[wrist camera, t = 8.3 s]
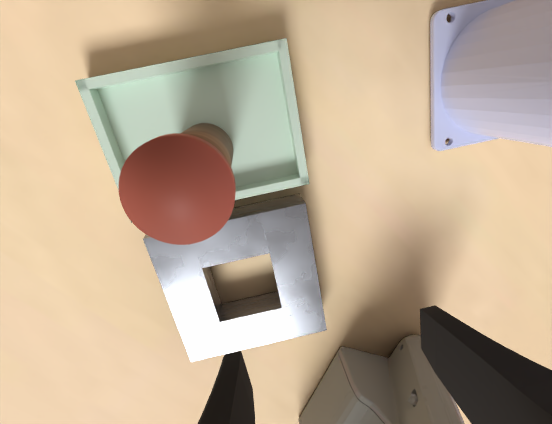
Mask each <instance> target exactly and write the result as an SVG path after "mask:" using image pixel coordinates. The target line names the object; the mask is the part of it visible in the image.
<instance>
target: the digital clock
mask: <svg viewBox="0 0 552 424" xmlns="http://www.w3.org/2000/svg"><path fill="white" fill-rule="evenodd" d="M299 424H464V421H463V419H462V417H461V414H460V412H459V409H458V407H457V404H456V402H455V400H454V399H453V397H452V396H451V395H450V393H449V392H448V391H447V389H446V388H445V386H444V385H443V384H442V382H441V381H440V379H439V378H438V377H437V375H436V374H435V372H434V370H433V369H432V367H431V365H430V363H429V362H428V360H427V358H426V356H425V355H424V353H423V351H422V349H421V336H420V335H410V336H407V337H405V338H403V339H402V340H401V341H400V343H399V344H398V345H397V347H396V348H395V350H394V351H393V353H392V354H391V356H390V357H389V358H386V357H382V356H378V355H375V354H371V353H367V352H363V351H359V350H355V349H351V348H347V347H340V349H339V350H338V352H337V354H336V356H335V357H334V359H333V361H332V363H331V364H330V366H329V368H328V369H327V371H326V373H325V375H324V376H323V378H322V380H321V381H320V383H319V385H318V387H317V388H316V390H315V392H314V393H313V395H312V397H311V399H310V400H309V402H308V404H307V405H306V407H305V409H304V411H303V412H302V414H301V416H300V417H299Z"/></svg>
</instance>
